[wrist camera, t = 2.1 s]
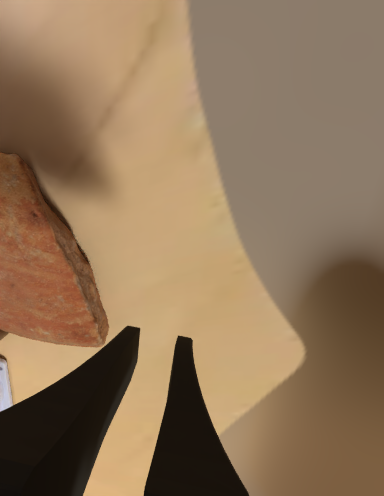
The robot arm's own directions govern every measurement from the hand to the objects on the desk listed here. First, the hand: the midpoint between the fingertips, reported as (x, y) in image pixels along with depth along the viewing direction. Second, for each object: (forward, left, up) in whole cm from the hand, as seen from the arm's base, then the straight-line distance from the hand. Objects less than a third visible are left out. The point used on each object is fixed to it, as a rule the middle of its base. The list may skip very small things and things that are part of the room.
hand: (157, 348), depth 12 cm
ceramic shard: (-1, +13, -10) cm, 16 cm away
